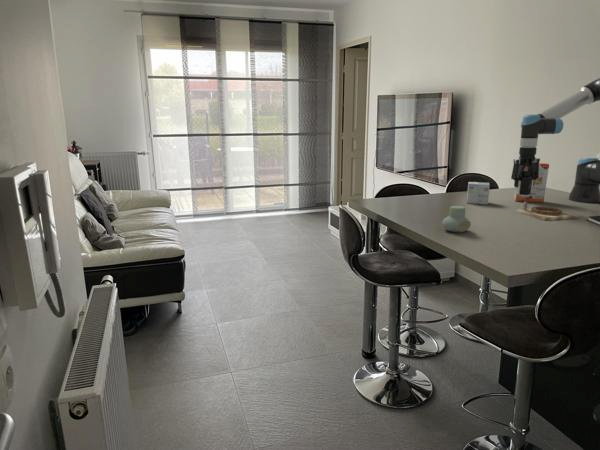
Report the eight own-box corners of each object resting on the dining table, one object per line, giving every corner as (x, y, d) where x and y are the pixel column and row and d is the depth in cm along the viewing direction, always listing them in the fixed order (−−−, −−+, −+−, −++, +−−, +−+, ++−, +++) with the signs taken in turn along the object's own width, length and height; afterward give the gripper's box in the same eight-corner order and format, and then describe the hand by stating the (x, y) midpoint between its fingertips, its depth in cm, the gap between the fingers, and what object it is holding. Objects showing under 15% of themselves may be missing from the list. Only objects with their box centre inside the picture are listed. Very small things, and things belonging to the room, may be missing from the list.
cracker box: (515, 201, 247) (520, 162, 242) (513, 199, 253) (518, 161, 248) (544, 203, 243) (549, 163, 238) (541, 201, 249) (547, 162, 244)
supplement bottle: (532, 195, 226) (535, 171, 223) (517, 195, 228) (520, 171, 225) (528, 192, 233) (531, 169, 230) (514, 192, 234) (516, 169, 231)
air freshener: (453, 234, 182) (456, 210, 179) (438, 230, 189) (440, 206, 186) (473, 231, 187) (475, 207, 184) (457, 227, 194) (459, 203, 191)
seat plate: (547, 210, 227) (548, 199, 225) (577, 218, 210) (578, 207, 208) (516, 211, 222) (517, 201, 221) (544, 220, 205) (545, 209, 204)
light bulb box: (487, 202, 245) (489, 182, 242) (488, 204, 239) (490, 184, 236) (466, 201, 248) (468, 181, 246) (466, 203, 242) (468, 183, 239)
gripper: (539, 145, 230) (534, 190, 236) (505, 146, 225) (501, 192, 231) (550, 146, 223) (545, 193, 229) (516, 148, 218) (511, 195, 224)
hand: (523, 192), depth 230 cm, fingers closed on supplement bottle, 7 cm apart
